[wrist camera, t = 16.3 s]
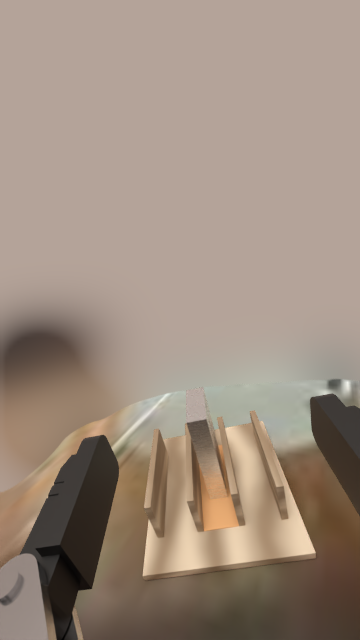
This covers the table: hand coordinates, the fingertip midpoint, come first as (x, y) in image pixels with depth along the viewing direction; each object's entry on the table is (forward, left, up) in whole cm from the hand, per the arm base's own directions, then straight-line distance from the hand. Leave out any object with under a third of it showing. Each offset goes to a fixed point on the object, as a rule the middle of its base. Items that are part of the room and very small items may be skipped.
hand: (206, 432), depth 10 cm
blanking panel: (-3, +18, -28) cm, 34 cm away
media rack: (-3, +18, -29) cm, 34 cm away
